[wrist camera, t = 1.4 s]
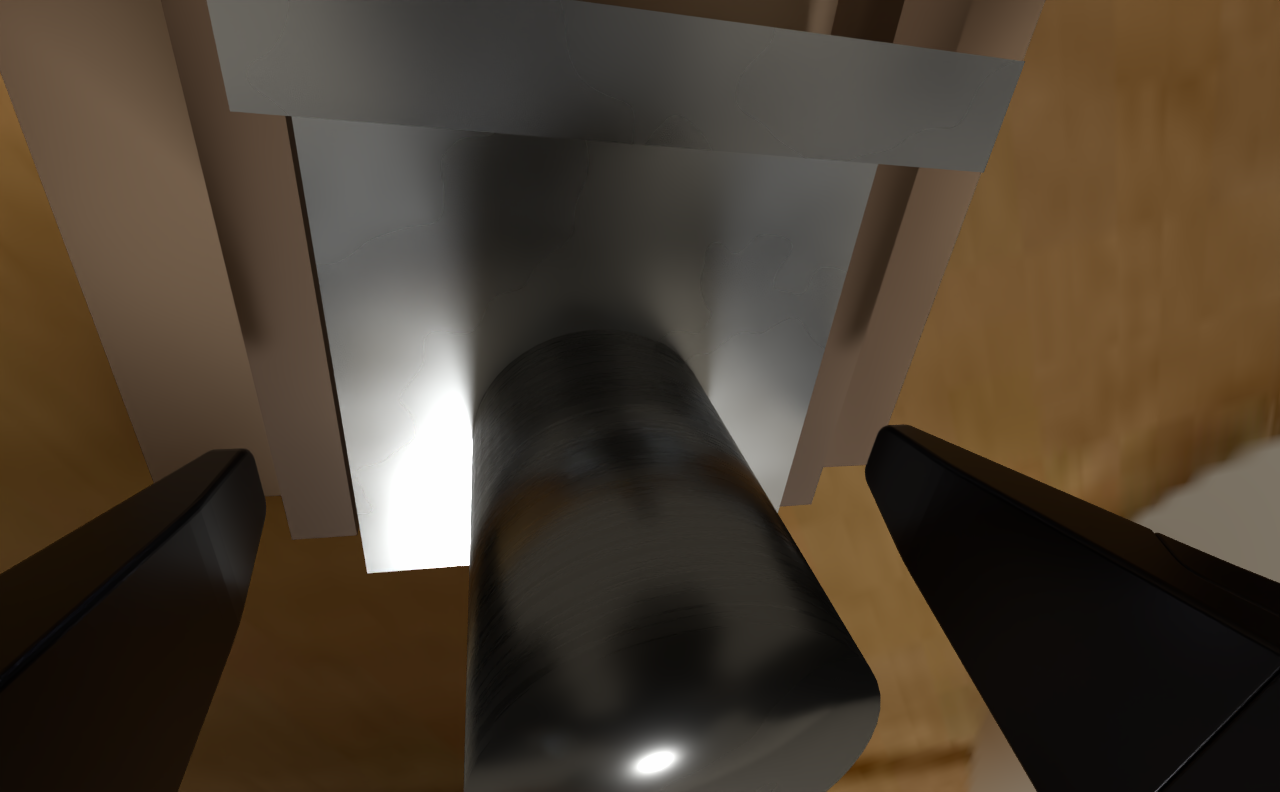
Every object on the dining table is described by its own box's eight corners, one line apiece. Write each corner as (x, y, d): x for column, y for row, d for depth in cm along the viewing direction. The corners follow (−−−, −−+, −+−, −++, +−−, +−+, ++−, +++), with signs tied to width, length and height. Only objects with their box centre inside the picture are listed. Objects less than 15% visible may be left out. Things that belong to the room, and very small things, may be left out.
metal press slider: (819, 45, 9) (1455, 94, 3) (727, 462, 13) (933, 838, 7) (322, -19, 8) (-305, -171, 2) (386, 479, 12) (282, 983, 6)
